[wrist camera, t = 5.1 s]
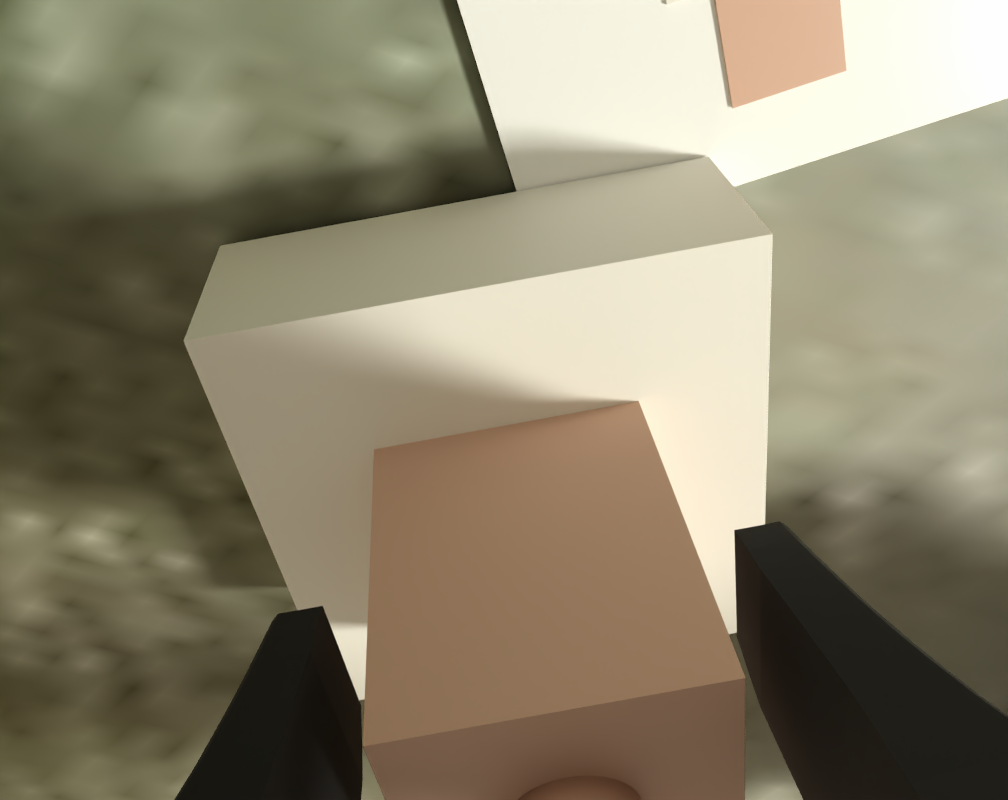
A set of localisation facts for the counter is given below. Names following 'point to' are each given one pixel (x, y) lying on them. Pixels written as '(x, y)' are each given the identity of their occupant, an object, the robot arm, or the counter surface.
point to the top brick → (544, 622)
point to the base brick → (491, 355)
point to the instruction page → (724, 79)
